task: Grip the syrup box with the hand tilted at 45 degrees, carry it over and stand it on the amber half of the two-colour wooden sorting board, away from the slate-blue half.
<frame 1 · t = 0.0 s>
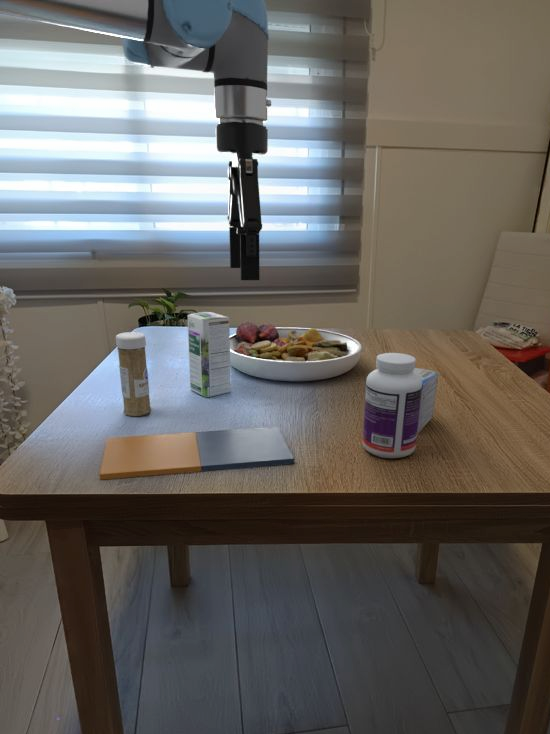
hand: (243, 273, 91), 23 cm above the table, tool pointing down, fingers open, 13 cm apart
sprinkles bottle: (137, 413, 97), on the table
medicine box: (413, 425, 97), on the table
bowl: (292, 365, 127), on the table
sorting board: (198, 452, 83), on the table
syrup box: (210, 392, 109), on the table
pill bottle: (388, 450, 87), on the table
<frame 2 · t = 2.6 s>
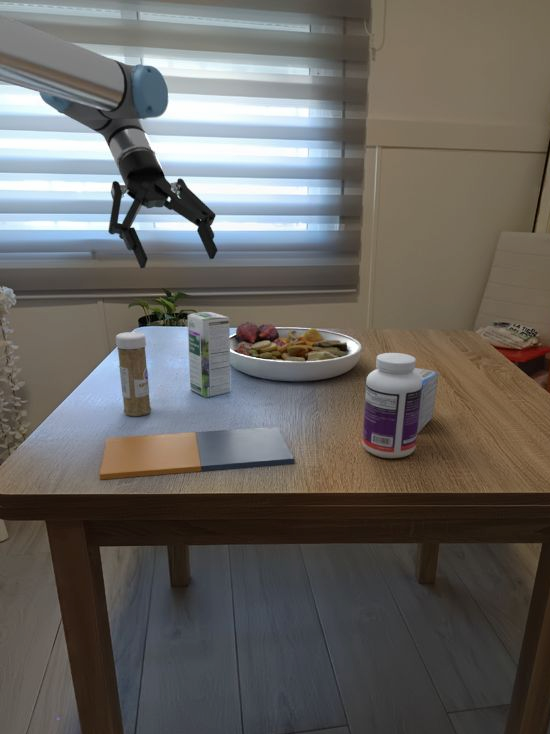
hand: (180, 259, 104), 23 cm above the table, tool tilted 40°, fingers open, 13 cm apart
nothing on the table moved.
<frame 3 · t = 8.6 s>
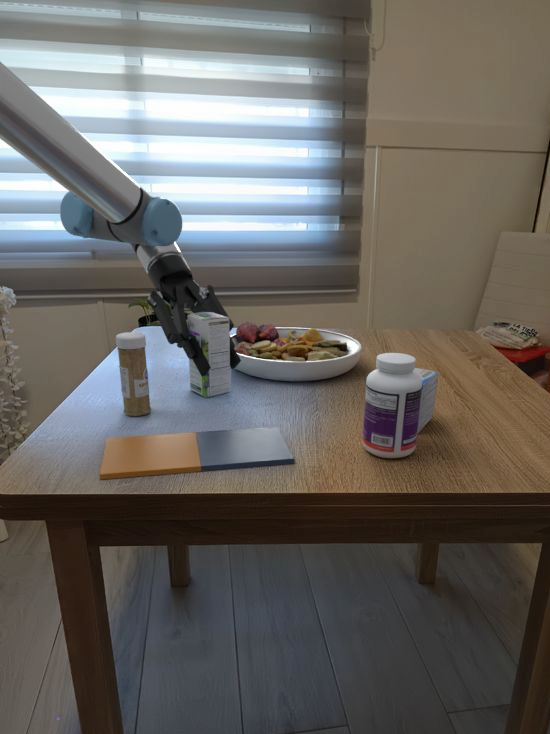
hand: (221, 368, 104), 5 cm above the table, tool tilted 45°, fingers closed on syrup box, 6 cm apart
syrup box: (210, 392, 109), on the table, touching gripper
everything else where it was.
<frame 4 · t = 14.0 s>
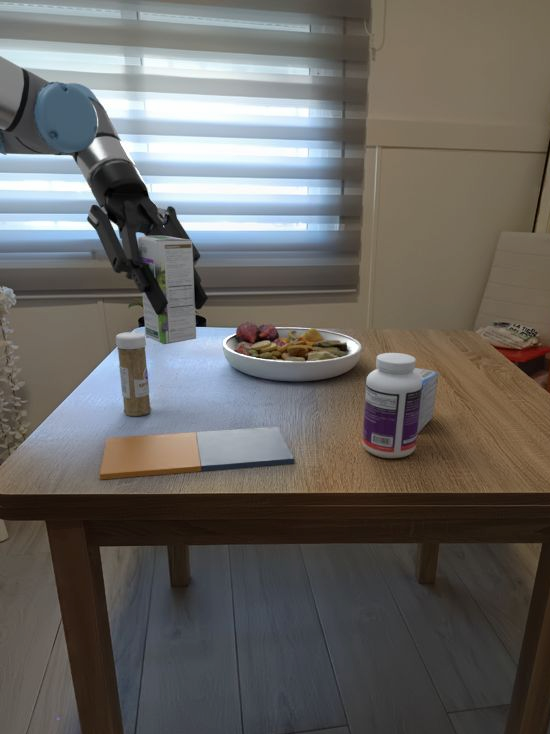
hand: (182, 306, 82), 20 cm above the table, tool tilted 45°, fingers closed on syrup box, 6 cm apart
syrup box: (171, 339, 86), point 14 cm above the table, touching gripper
everything else where it was.
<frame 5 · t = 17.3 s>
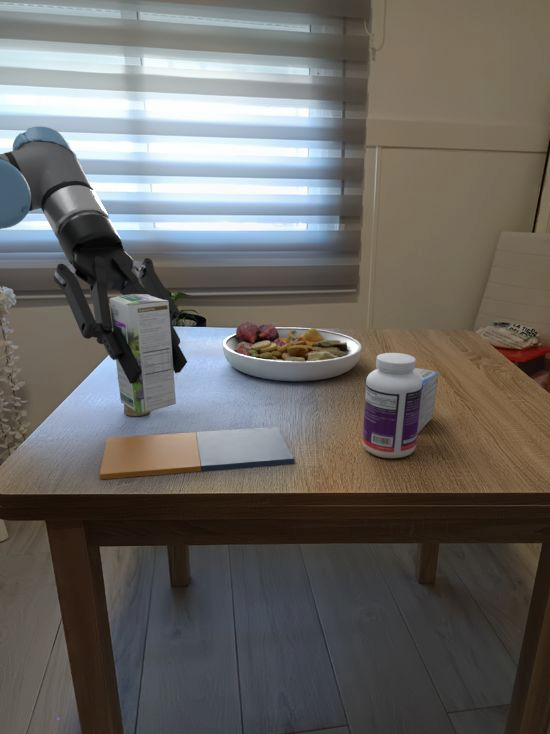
hand: (159, 372, 75), 13 cm above the table, tool tilted 45°, fingers closed on syrup box, 6 cm apart
syrup box: (149, 405, 79), point 8 cm above the table, touching gripper
everything else where it was.
when the fingers open (6 cm above the table, at t = 19.7 s): syrup box stays where it is, resting on sorting board.
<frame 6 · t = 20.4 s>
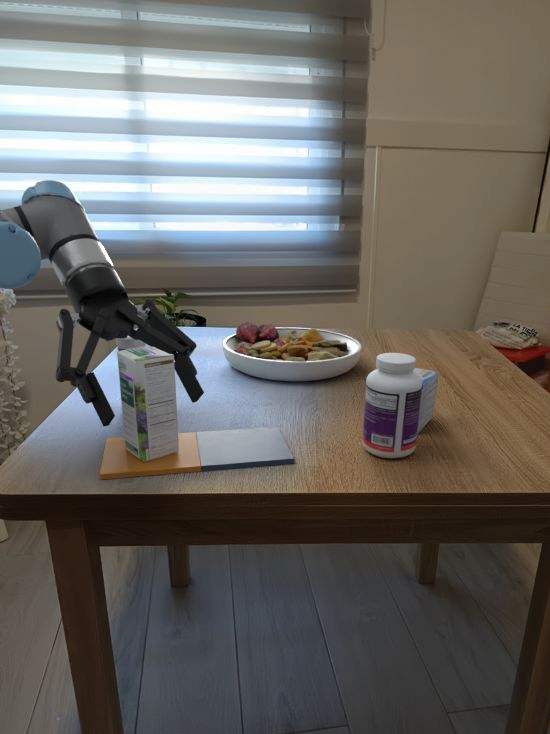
hand: (156, 409, 77), 8 cm above the table, tool tilted 45°, fingers open, 13 cm apart
syrup box: (152, 452, 82), point 1 cm above the table, touching sorting board
everything else where it was.
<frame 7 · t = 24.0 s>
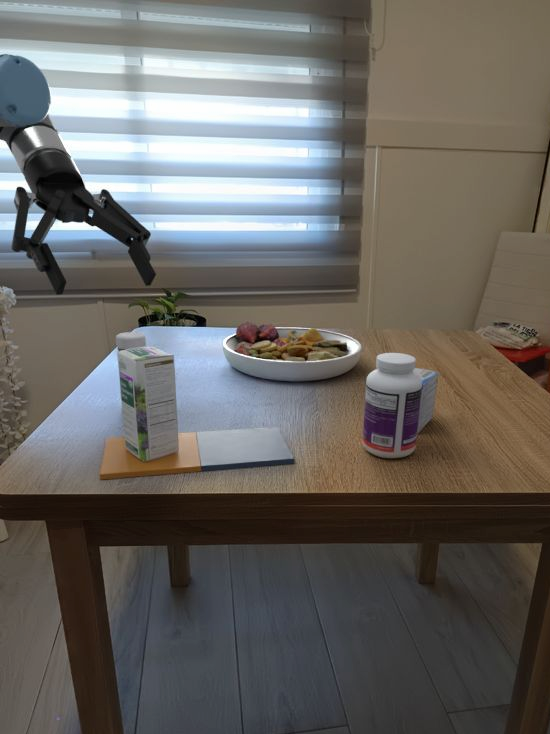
hand: (109, 284, 82), 22 cm above the table, tool tilted 45°, fingers open, 13 cm apart
nothing on the table moved.
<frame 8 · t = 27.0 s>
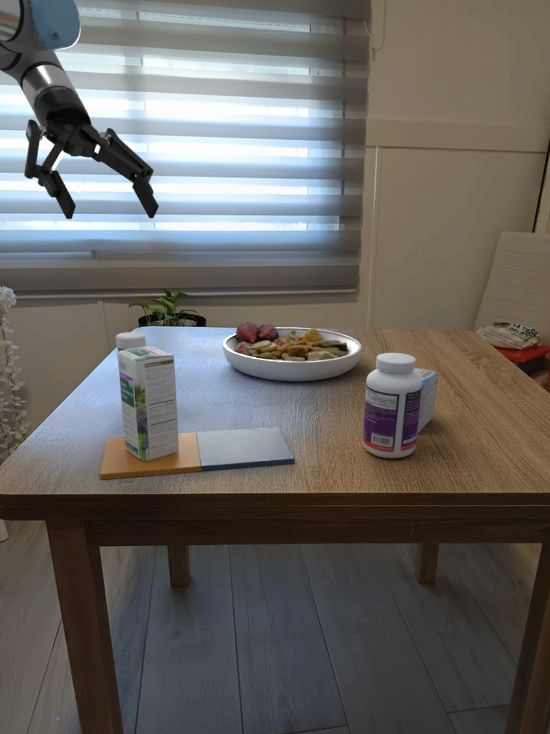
hand: (115, 212, 88), 32 cm above the table, tool tilted 45°, fingers open, 13 cm apart
nothing on the table moved.
at the end: syrup box inside the target area on the sorting board (0.2 cm from its centre), point 0.6 cm above the sorting board's base; syrup box tilted 0°; the gripper is holding nothing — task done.
